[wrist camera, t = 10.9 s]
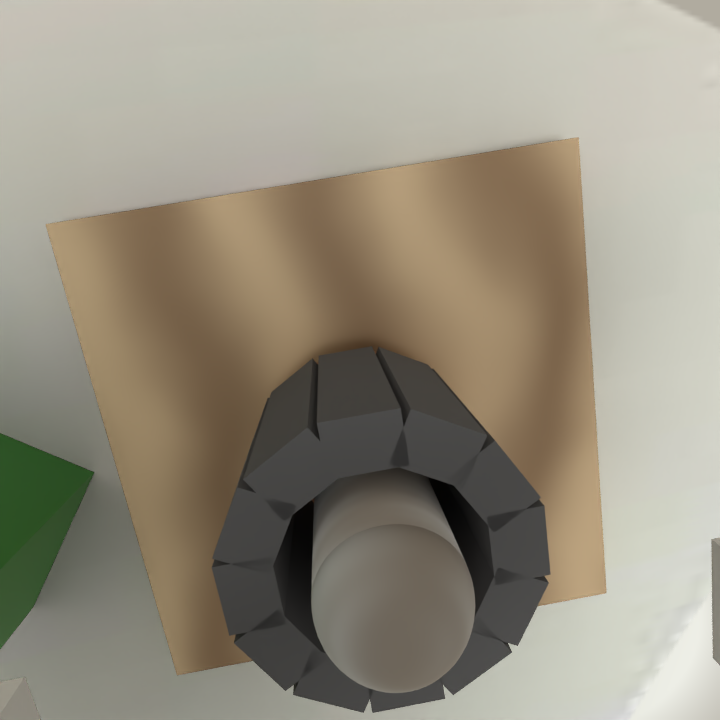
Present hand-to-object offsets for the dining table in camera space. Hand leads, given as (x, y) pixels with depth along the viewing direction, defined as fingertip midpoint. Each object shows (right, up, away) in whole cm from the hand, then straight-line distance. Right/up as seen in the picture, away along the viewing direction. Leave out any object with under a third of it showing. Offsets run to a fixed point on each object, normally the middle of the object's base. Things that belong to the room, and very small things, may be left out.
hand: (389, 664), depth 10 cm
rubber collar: (0, +2, +9) cm, 10 cm away
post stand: (-1, +3, +13) cm, 14 cm away
